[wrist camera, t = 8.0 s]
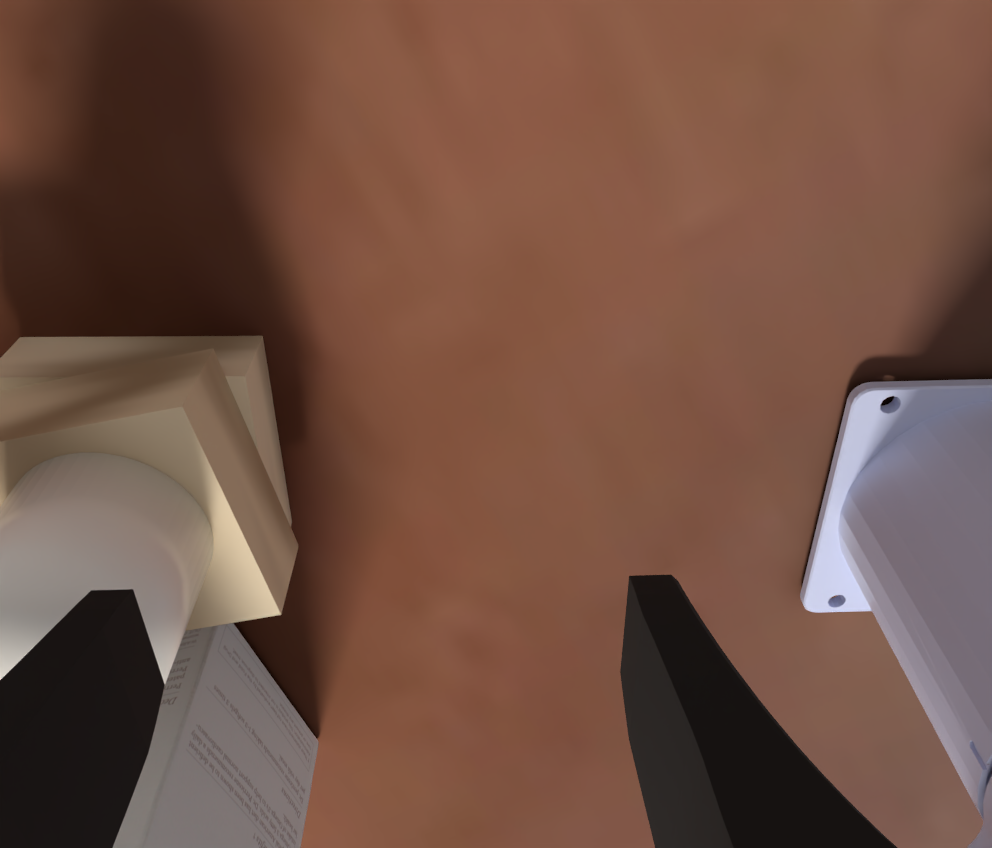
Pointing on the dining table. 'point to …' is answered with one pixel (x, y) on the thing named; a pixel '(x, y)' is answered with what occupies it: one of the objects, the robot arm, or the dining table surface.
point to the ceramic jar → (99, 549)
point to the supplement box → (222, 755)
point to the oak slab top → (169, 464)
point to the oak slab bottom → (90, 354)
